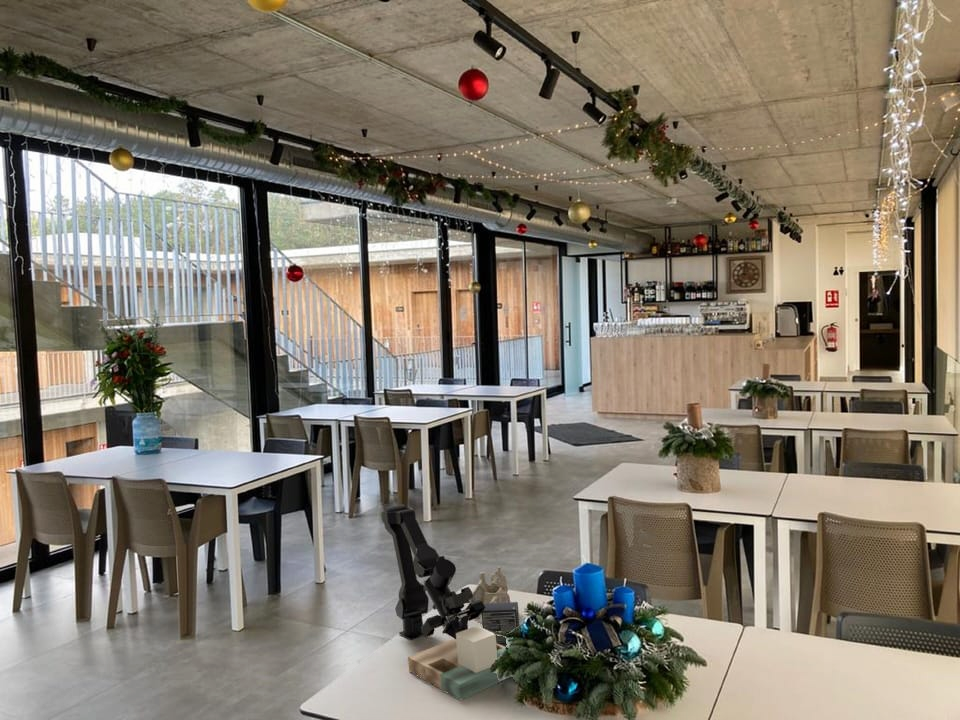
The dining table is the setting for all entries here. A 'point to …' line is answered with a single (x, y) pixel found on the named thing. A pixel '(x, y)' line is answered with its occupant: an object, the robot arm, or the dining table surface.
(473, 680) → the trap board
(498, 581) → the ceramic cottage
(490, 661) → the cream block
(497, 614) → the small box
